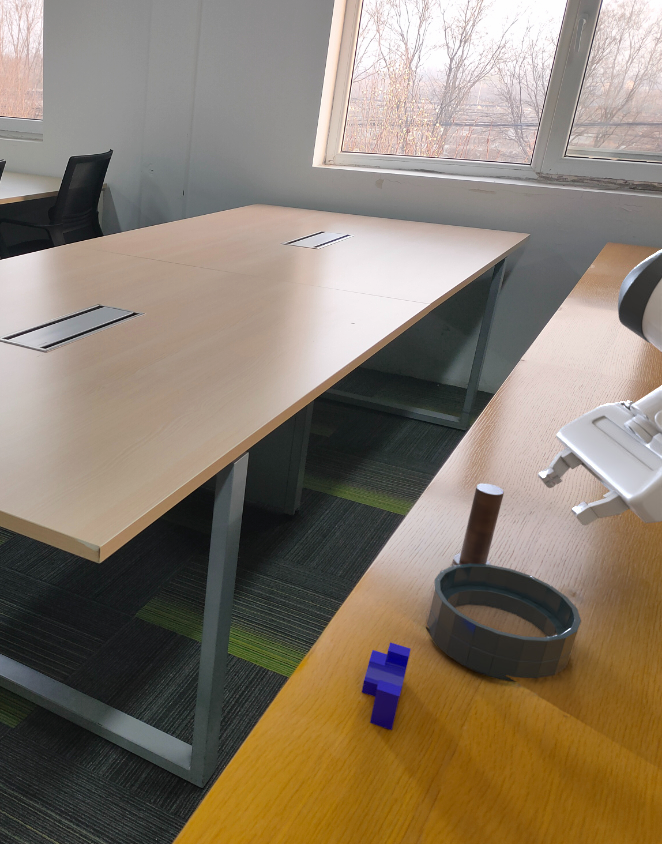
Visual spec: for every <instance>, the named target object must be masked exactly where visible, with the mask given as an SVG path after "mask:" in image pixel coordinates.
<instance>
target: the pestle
mask: <svg viewBox="0 0 662 844" xmlns="http://www.w3.org/2000/svg"><path fill="white" fill-rule="evenodd" d="M504 494H505V491H504V489H503V488H502V487H500V486H498V485H495V484H491V483H479V484H477V485H476V486H475V491H474V495H473V500H472V504H471V509H470V512H469V517H468V521H467V525H466V529H465V534H464V538H463V542H462V546H461V549H460V552H459V553H455V554H454V555H453V558H452V561H451V566H454V565H461V564H468V563H472V564H489V565H492V563H491V562H490V561H489V560H488V558H489V554H490V550H491V546H492V541H493V538H494V534H495V531H496V526H497V522H498V518H499V515H500V510H501V506H502V503H503V498H504ZM451 566H450V567H451Z"/></svg>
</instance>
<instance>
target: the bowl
mask: <svg viewBox="0 0 662 844" xmlns="http://www.w3.org/2000/svg"><path fill="white" fill-rule="evenodd" d="M469 605H470V606H484V607H489V608H493V609H498V610H501V611H504V612H507V613H510V614H513V615H515V616H517V617H518V618H519V617H520V618H521V619H523V620H524V621H527V622H528V623H530V624H532V625H533V626H534V627H536V628H537V629H538V630H539V631H540V632H541V633H543V634H544V637H542V636H525V635H520V634H514V633H510V632H506V631H501V630H498V629H496V628H493V627H490V626H487V625H485V624H482V623H481V622H480V623H479V622H478V621H476V620H474V619H473V618H471V617H469V616H468V615H466V614H465V613H462V612H460V611H459V610H458V609H457V608H456V607H462V606H469ZM580 615H581V614H580V613H579V610H578V608H577V606H576V605H575V604H574V603H573V602H572V600H570V599H569V597H568V596H566V595H565V594H564V593H562V592H561V591H560V590H558V589H557V588H556V587H554V586H552V585H551V584H549V583H547V582H545V581H543V580H541V579H539V578H537V577H535V576H532V575H531V574H527V573H525V572H521V571H518V570H515V569H512V568H509V567H504V566H498V565H495V564H491V565H489V564H472V563H468V564H461V565H454V566H449V567H447V568H445V569H442V570H440V572H439V573H438V574H437V576H436V577H435V578H434V581H433V584H432V590H431V594H430V598H429V604H428V608H427V612H426V626H425V629H426V631H427V633H428V635H429V636H430V638H431V640H432V642H433V643H434V644H435V645H436V646H437V647H438V648H439V649H440V650H441V651H442V652H443V653H444V654H445V655H446V656H449V657H450V658H451V659H453V660H454V661H456V662H457V663H458V664H460V665H462V666H464V667H465V668H467V669H469V670H471V671H473V672H475V673H478V674H480V675H483V676H486V677H488V678H492V679H496V680H500V681H505V682H510V683H511V682H512V683H517V681H516V680H514V679H513V678H523V679H541V678H546V677H551V676H555V675H557V674H559V673H560V672H562V671H563V670H564V669H566V668H567V667H568V663H569V661H570V659H571V656H572V652H573V650H574V646H575V642H576V640H577V636H578V633H579V631H580V626H581V623H582V619H581V616H580Z"/></svg>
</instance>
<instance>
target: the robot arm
mask: <svg viewBox="0 0 662 844" xmlns="http://www.w3.org/2000/svg"><path fill="white" fill-rule="evenodd" d="M617 313H618V319H619V322H620V323H621V325H622V326H623V327H625V328H627V330H630V331H631V332H632V333H634V334H635V335H637V336H638V337H640V338H641V339H642V340H644V341H645V342H647V343H649V344H651V345H652V346H654V347H655V348H656V349H657V350H658V351H660V352H661V353H662V249H660V250H658V251H657V252H655V253H654V254H652V255H650V256H649V257H647V258H646V259H644V260H643V261H641V262H640V263H639V264H637V265H636V266H635V267H634V268H632V270H631V271H629V273H627V275H626V276H625V278H624V279H623V281H622V282H621V285H620V288H619V292H618V298H617ZM555 439H556V440H557V441H558V442H559V443H560V445H561V447H563V448H564V449H562V450H560V451H558V452H557V454H556V455H555V457H554V458H553V459H552V461H551V462H550V463H549V466H547V467H546V468H544V469H542V470H541V471H539V472H538V474H537V477H538V478H539V480H540V481H541V482H542V483H543V484H544V485H545V487H547V488H549V489H552V488H555V486H557V485H559V484H560V483H562V482H563V480H562V479H561V478H562V477H563V476H564V475H565V474H567V472H568V471H569V469H571V470H575V469H576V468H577V467H579V466H582V467H583V468H584V469H585V470H586V471H587V472H588V473H590V474H591V475H592V476H593V477H594V478H595V479H596V480H597V481H598V482H599V483H600V484H602V486H604V487H605V488H606V489H607V490H608V491H607V492H606V493H605V494H603V497H604V498H601V499H599V500H595V501H592V502H589V503H587V502H586V501H585V500H583V501H581V502H580V503H578V505H576V506H574V507H572V508H571V511H570V512H571V513H572V515H573V516H574V517H575V518H576V520H577V521H578V522H579V523H580V524H581V525H582V526H588V525H590V524H591V523H593V522H595V521H596V520H598V519H603V518H604V519H605V518H608V517H609V518H610V517H615V516H620V515H621V514H623V513H625V512H627V511H629V510H630V511H631V512H632V513H633V514H634V515H635V516H636V517H638V518H639V519H640V520H641V521H642V522H643V523H644V524H654V523H661V522H662V385H660V386H659V387H657V388H655V389H654V390H652V391H650V393H648V394H646V395H644V396H643V397H642V398H640V399H639V400H637V401H633V400H626V401H620V402H618V401H616V402H613V403H606V404H602V405H599V406H597V407H595V408H593V409H591V410H589V411H587V412H585V413H583V414H581V415H579V416H578V417H577V418H575V419H573V420H570V422H568V423H566V424H565V425H563V426H562V427H560V429H559V430H558V431H557V433H556V435H555Z"/></svg>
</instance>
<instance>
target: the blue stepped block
mask: <svg viewBox="0 0 662 844" xmlns="http://www.w3.org/2000/svg"><path fill="white" fill-rule="evenodd" d="M411 650H412V649H411V648H410V647H406V646H403V645H400V644H397V643H394V642H389V646H388V649H387V653H384V652H381V651H378V650H374V649H372V651H371V654H370V657H369V660H368V664H367V669H366V671H365V676H364V679H363V684H362V688H361V693H362V694H366V695H368V696H372V697H374V701H373V706H372V711H371V716H370V720H369V723H370V724H373V725H375V726H378V727H381V728H383V729H387V730H389V731H392V730H393V727H394V723H395V718H396V714H397V710H398V706H399V702H400V699H401V693H402V689H403V686H404V682H405V677H406V673H407V668H408V664H409V659H410V654H411Z"/></svg>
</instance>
